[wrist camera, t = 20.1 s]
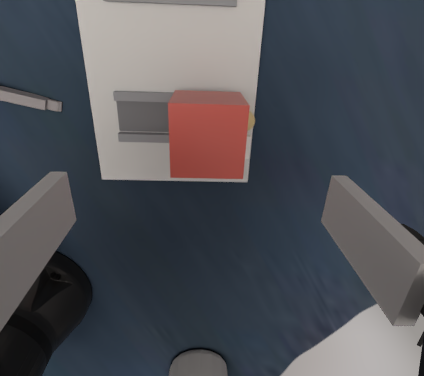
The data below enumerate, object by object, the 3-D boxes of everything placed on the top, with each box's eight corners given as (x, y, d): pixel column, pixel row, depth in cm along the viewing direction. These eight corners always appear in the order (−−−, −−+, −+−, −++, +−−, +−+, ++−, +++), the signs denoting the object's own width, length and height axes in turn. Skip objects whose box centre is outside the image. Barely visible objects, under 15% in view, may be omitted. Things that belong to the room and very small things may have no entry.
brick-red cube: (176, 151, 29) (170, 177, 23) (175, 89, 26) (167, 102, 21) (235, 153, 29) (243, 179, 23) (240, 92, 26) (249, 105, 21)
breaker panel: (107, 172, 34) (99, 182, 31) (63, -144, 22) (45, -168, 20) (245, 174, 34) (248, 185, 32) (273, -131, 23) (282, -152, 20)
